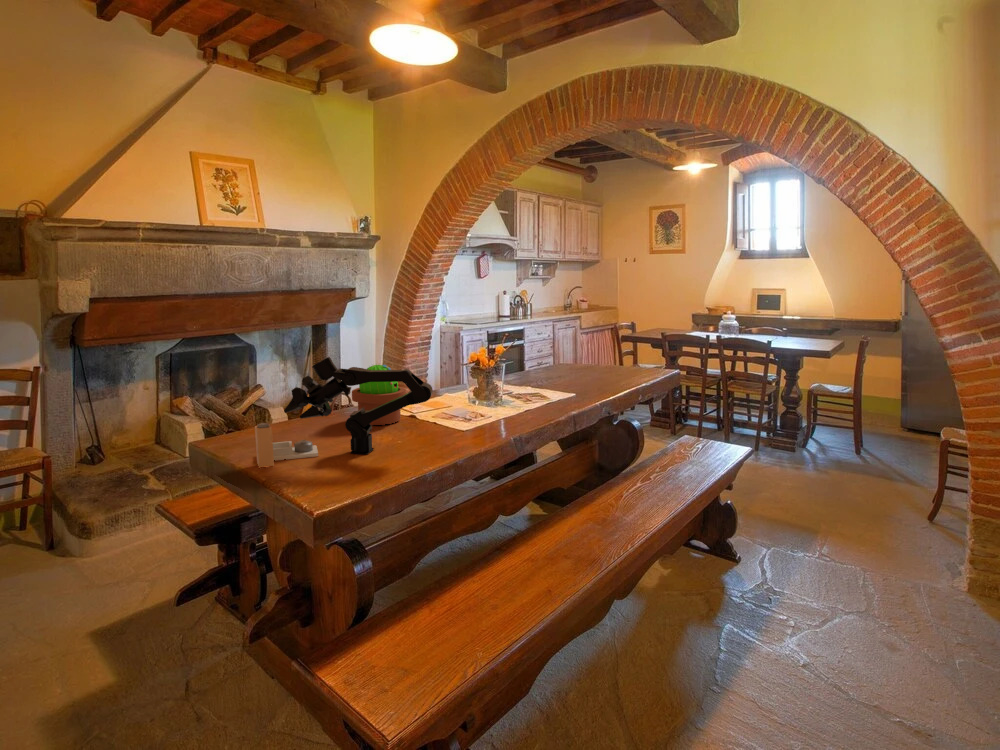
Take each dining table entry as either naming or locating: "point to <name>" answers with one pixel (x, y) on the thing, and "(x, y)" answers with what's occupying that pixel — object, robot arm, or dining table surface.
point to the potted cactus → (378, 396)
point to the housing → (294, 450)
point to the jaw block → (264, 445)
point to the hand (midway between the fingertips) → (292, 414)
